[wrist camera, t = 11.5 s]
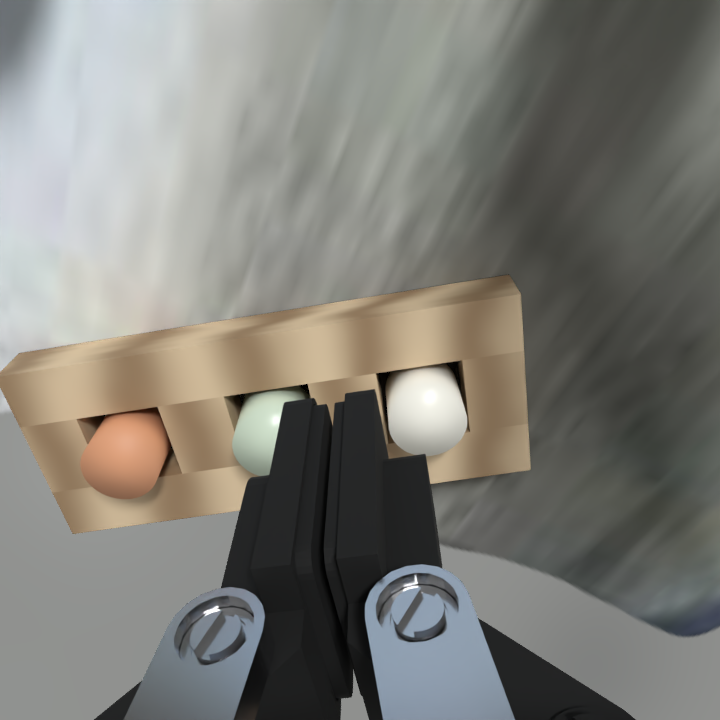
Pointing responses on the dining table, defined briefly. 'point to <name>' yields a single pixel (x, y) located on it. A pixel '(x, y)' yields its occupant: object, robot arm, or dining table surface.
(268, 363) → the oak panel
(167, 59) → the dining table surface
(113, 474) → the brown egg
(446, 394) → the white rounded dome
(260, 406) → the pale green rounded knob
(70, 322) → the dining table surface
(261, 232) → the dining table surface
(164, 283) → the dining table surface
